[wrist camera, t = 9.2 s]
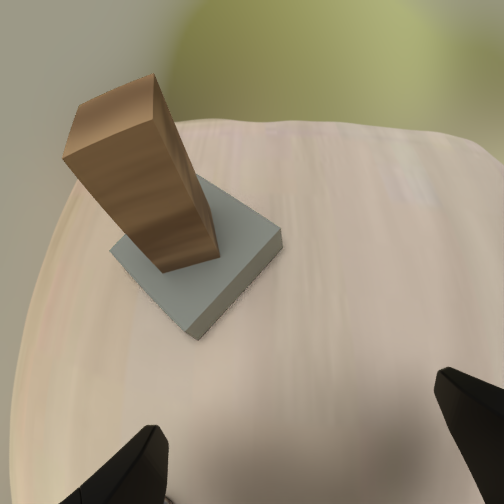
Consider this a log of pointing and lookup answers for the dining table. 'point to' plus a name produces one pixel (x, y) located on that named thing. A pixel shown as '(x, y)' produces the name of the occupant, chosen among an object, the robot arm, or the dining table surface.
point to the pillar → (142, 174)
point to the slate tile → (208, 264)
